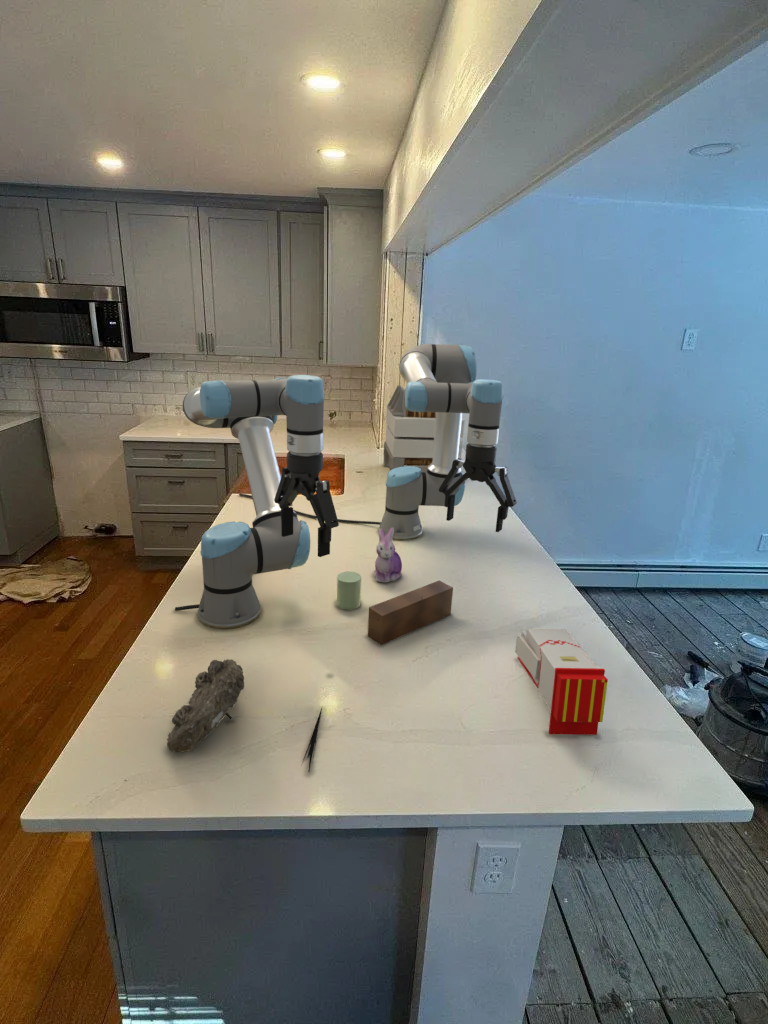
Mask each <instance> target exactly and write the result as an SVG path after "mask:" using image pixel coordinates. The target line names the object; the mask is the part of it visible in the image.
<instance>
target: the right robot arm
mask: <svg viewBox="0 0 768 1024" xmlns="http://www.w3.org/2000/svg"><path fill="white" fill-rule="evenodd" d="M398 366H399V367H398V368H399V373H400V375H401V377H402V379H403V380H404V381H406V382H407V383H406V386H405V390H406V392H405V406H406V409H407V410H408V411H416V412H436V423H435V435H434V448H433V460H432V463H431V464H430V465H428V466H426V467H427V469H426V471H422V469H421V468H420V466H407V465H404V467H398V468H395V469H392V470H391V471H390V470H388V473H387V475H386V482H385V487H386V488H385V489H386V490H385V504H384V505H385V507H384V508H385V509H384V513H383V515H382V519H381V521H368V520H353V519H342V518H337V519H338V523H347V524H361V525H377V526H379V527H378V530H379V529H380V528H381V529H382V530H383V531H384V533H385V535H386V534H387V533H388V531H389V530H390V528H394V534H393V537H392V540H395V541H410V540H415V539H418V538H420V537H421V536H422V535H423V525H422V524H421V518H420V515H419V507H420V506H427V507H428V506H429V507H445V508H447V509H446V521H448V522H450V521H451V520H453V519H454V516H455V507H456V506H458V505H459V504H460V503H461V502H462V500H463V497H464V494H465V489H466V481H468V479H470V481H472V482H473V481H477V482H479V483H485V484H486V485H487V486H488V487H489V489H490V490H491V492H492V493H493V495H494V497H495V498H496V500H497V501H498V503H499V506H498V507H497V515H496V523H495V533H499V532H501V531H502V530H503V525H504V521H505V520H506V519H507V518H508V513H509V508H512V507H514V506H515V505H517V502H518V501H517V499H516V496H515V493H514V490H513V487H512V483H511V482H510V479H509V475H508V474H509V473H508V467H507V466H505V465H504V466H503V467H501V466H500V467H499V466H497V465H496V461H497V451H498V447H497V446H496V445H498V442H499V432H500V425H501V423H500V422H501V415H502V407H503V400H504V384H503V382H502V381H500V380H495V379H486V378H485V379H483V378H481V379H477V378H478V377H477V375H478V363H477V357H476V353H475V350H474V349H473V347H471V346H469V345H463V344H440V343H439V344H438V343H437V344H436V343H435V344H434V343H433V344H432V343H423V344H418V345H415V346H413V347H411V348H410V349H408V350H407V351H405V353H404V354H403V355H402V356H401V358H400V360H399V364H398ZM463 414H469V415H468V425H467V436H466V442H467V444H466V446H465V454H464V455H465V457H464V458H465V459H464V460H462V461H461V459H459V458H458V453H459V443H460V439H461V438H460V433H461V422H462V419H463ZM462 468H463V469H464V471H465V473H463V472H462ZM495 473H496V474H497V476H498V477H499V481H500V484H501V486H502V487H500V485H499V484H498V482H497V479H496V478H495V475H494V474H495ZM502 489H503V490H502ZM238 496H239V497H244V498H245V497H246V498H249V499H252V494H245V493H241V492H240V493H238ZM293 511H294V512H296V514H297V515H299V516H304V517H307V518H312V519H316V520H318V519H317V517H316V515H315V514H314V515H313V514H310V513H306V512H301V511H299V510H295V509H293Z"/></svg>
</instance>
